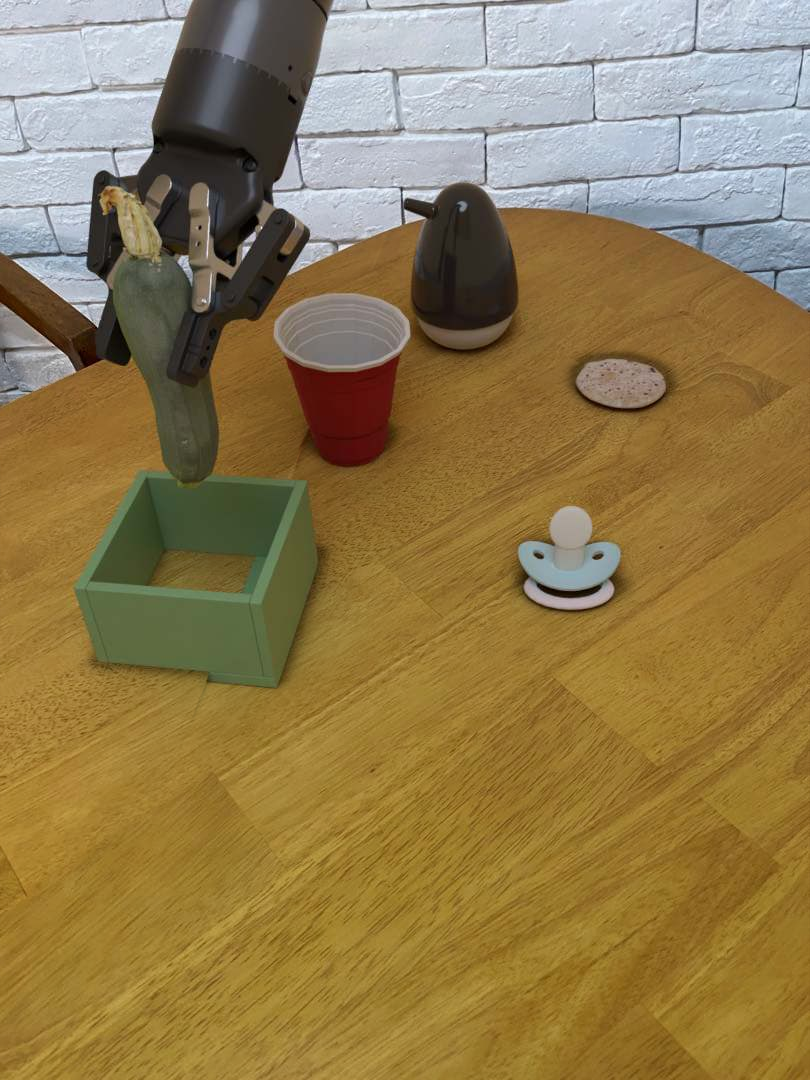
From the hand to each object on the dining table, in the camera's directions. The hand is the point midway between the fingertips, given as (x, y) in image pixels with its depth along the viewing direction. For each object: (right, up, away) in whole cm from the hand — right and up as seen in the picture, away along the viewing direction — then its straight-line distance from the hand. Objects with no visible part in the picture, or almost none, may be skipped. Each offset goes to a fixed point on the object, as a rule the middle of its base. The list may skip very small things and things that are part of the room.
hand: (145, 370), depth 63 cm
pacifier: (+26, -13, +20) cm, 35 cm away
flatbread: (+34, +4, +38) cm, 51 cm away
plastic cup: (+10, -2, +34) cm, 35 cm away
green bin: (+1, -15, +19) cm, 24 cm away
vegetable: (+1, -7, +8) cm, 10 cm away
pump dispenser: (+20, +10, +47) cm, 52 cm away
